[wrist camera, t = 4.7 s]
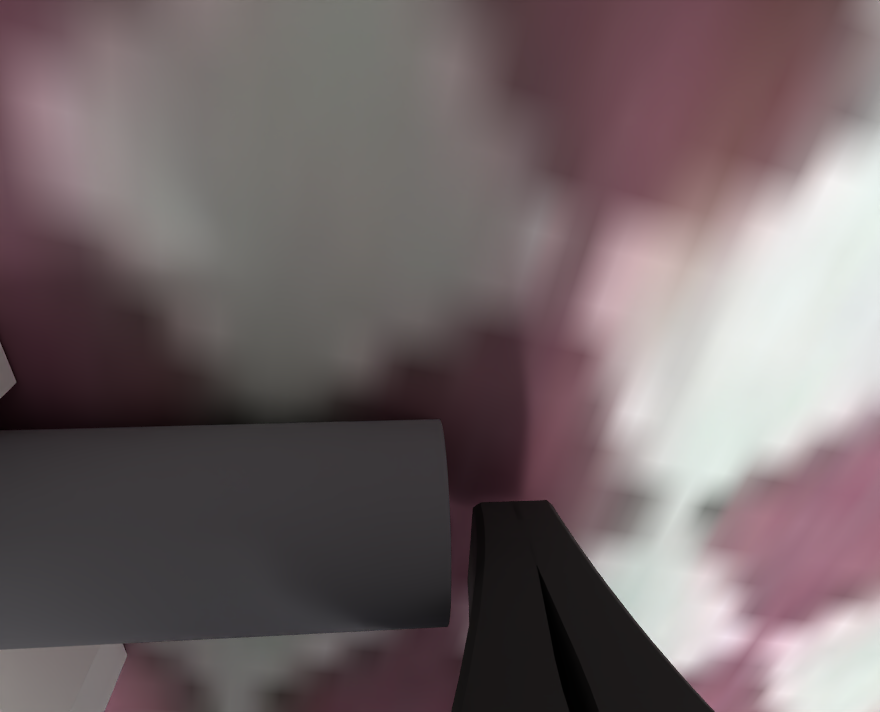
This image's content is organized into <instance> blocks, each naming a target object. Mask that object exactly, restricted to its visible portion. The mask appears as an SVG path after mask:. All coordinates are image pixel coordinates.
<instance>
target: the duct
mask: <svg viewBox="0 0 880 712" xmlns="http://www.w3.org/2000/svg"><path fill="white" fill-rule="evenodd" d="M16 383H17V382H16V380H15V377H14V375H13V372H12V370H11V367H10V365H9V362H8V360H7V358H6V355H5V353H4V350H3V348H2V345H1V343H0V398H1V397H2V396H4V395H5V394H6V393H7V392H8V391H9V390H10V389H11V388H12V387H13V386H14V385H15V384H16ZM126 658H127V653H126V651H125V648H124V646H123V644H104V645H84V646H65V647H45V648H26V649H7V650H0V712H104V711H105V709H106V706H107V704H108V702H109V699H110V697H111V694H112V692H113V689H114V687H115V684H116V682H117V680H118V677H119V675H120V672H121V670H122V667H123V665H124V663H125V660H126Z"/></svg>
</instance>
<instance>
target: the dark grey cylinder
mask: <svg viewBox="0 0 880 712" xmlns="http://www.w3.org/2000/svg"><path fill="white" fill-rule="evenodd" d="M450 608H451V529H450V505H449V486H448V472H447V459H446V449H445V440H444V433H443V427H442V423H441V420H440V419H425V420H387V421H349V422H310V423H272V424H234V425H195V426H157V427H118V428H80V429H42V430H3V431H0V650H7V649H26V648H45V647H65V646H84V645H104V644H123V643H143V642H162V641H181V640H201V639H220V638H240V637H259V636H279V635H298V634H317V633H337V632H356V631H376V630H395V629H415V628H434V627H448V625H449V619H450Z"/></svg>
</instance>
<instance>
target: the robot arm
mask: <svg viewBox="0 0 880 712" xmlns="http://www.w3.org/2000/svg"><path fill="white" fill-rule="evenodd" d="M468 595H469V629H468V634H467V640H466V645H465V650H464V655H463V660H462V666H461V671H460V676H459V681H458V685H457V689H456V694H455V698H454V703H453V707H452V711H451V712H715V711H714V710H713V709H712V708H711V707H710V706H709V705H708V704H707V703H706V702H705V701H704V700H703V699H702V698H701V696H700V695H699V694H698V693H697V692H696V691H695V690H694V689H693V688H692V687H691V685H690V684H689V683H688V682H687V681H686V680H685V679H684V678H683V676H682V675H681V674H680V673H679V672H678V671H677V670H676V669H675V667H674V666H673V665H672V664H671V663H670V662H669V660H668V659H667V658H666V657H665V656H664V655H663V653H662V652H661V651H660V650H659V649H658V648H657V646H656V645H655V644H654V643H653V642H652V640H651V639H650V638H649V637H648V636H647V634H646V633H645V632H644V631H643V629H642V628H641V627H640V626H639V625H638V623H637V622H636V621H635V620H634V618H633V617H632V616H631V614H630V613H629V612H628V611H627V609H626V608H625V607H624V605H623V604H622V603H621V602H620V600H619V599H618V598H617V596H616V595H615V594H614V593H613V591H612V590H611V589H610V587H609V586H608V585H607V584H606V582H605V581H604V579H603V578H602V577H601V575H600V574H599V573H598V571H597V570H596V569H595V567H594V566H593V564H592V563H591V562H590V560H589V559H588V557H587V556H586V555H585V553H584V552H583V550H582V549H581V548H580V546H579V545H578V543H577V542H576V540H575V539H574V537H573V536H572V535H571V533H570V532H569V530H568V529H567V527H566V526H565V524H564V523H563V521H562V520H561V518H560V516H559V515H558V513H557V512H556V510H555V509H554V507H553V506H552V505H551V504H550V503H549V502H548V501H547V500H540V501H509V502H480V503H479V504H477V505H476V506H475V507H473V514H472V528H471V541H470V555H469V568H468Z"/></svg>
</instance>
